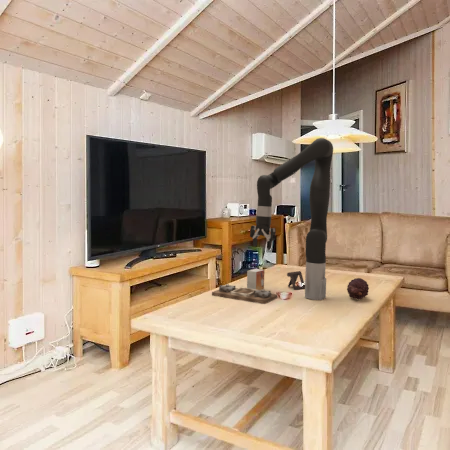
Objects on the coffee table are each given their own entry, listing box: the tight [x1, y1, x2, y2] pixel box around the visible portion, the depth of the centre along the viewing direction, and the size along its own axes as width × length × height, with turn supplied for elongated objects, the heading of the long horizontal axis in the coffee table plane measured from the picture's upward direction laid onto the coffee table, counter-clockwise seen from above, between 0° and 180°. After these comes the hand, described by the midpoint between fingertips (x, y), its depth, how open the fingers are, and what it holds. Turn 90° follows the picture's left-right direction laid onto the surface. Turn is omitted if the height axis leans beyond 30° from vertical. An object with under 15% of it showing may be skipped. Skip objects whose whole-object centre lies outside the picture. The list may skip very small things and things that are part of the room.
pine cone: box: [346, 277, 370, 300], centre depth 204 cm, size 18×10×10 cm, turn 161°
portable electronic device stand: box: [286, 270, 305, 291], centre depth 224 cm, size 9×8×8 cm
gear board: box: [211, 283, 278, 305], centre depth 204 cm, size 28×14×4 cm, turn 60°
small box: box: [246, 268, 265, 290], centre depth 216 cm, size 8×6×10 cm
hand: (261, 247), depth 214 cm, fingers open, 8 cm apart
